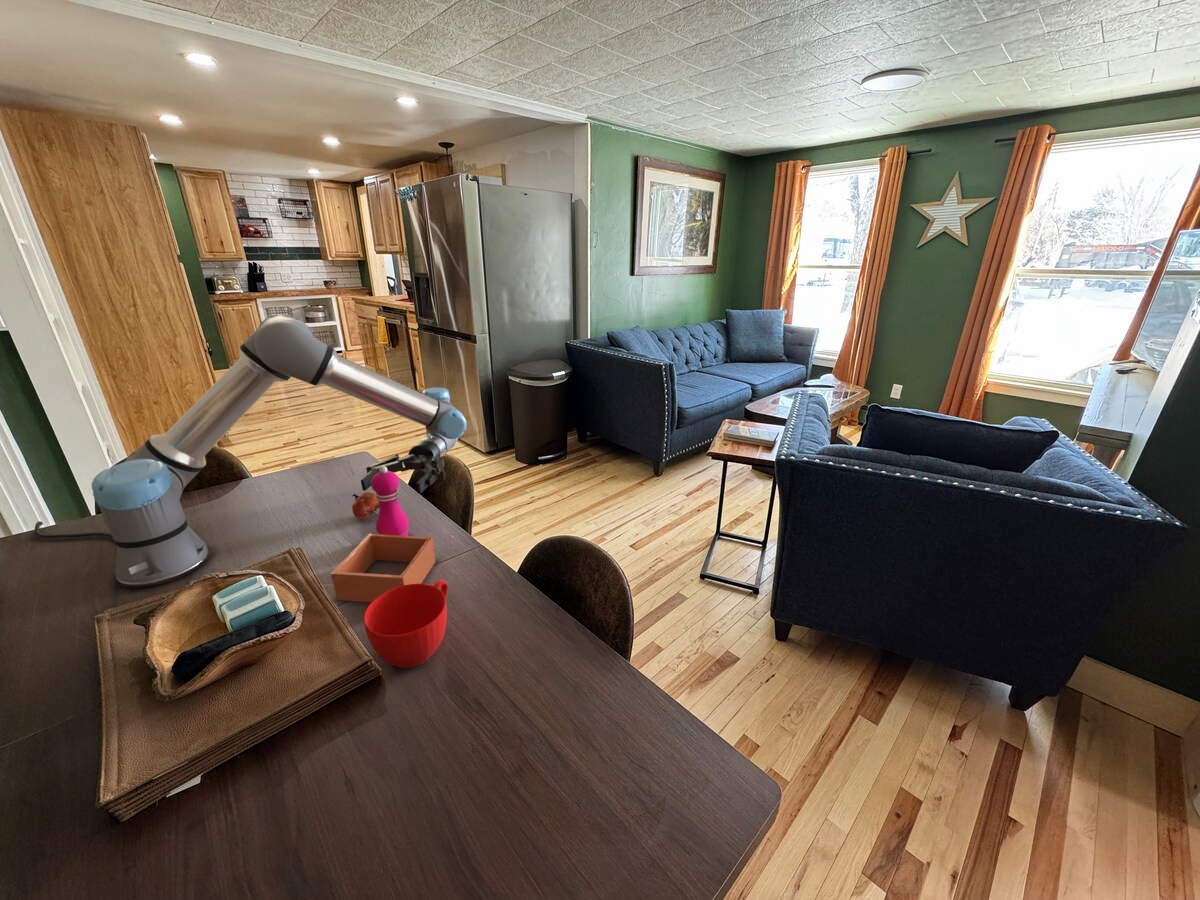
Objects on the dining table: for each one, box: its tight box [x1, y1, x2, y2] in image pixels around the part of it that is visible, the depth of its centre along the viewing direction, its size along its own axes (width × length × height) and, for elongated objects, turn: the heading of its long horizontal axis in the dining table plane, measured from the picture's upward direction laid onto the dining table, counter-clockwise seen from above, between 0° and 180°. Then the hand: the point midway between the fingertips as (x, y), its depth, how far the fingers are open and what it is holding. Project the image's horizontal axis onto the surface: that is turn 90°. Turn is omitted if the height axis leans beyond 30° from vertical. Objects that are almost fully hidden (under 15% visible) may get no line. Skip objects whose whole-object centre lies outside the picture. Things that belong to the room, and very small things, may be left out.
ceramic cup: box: [363, 580, 449, 669], centre depth 83 cm, size 13×17×10 cm
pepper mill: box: [370, 466, 410, 536], centre depth 112 cm, size 7×7×20 cm
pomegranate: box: [351, 491, 380, 521], centre depth 124 cm, size 7×7×10 cm
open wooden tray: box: [330, 533, 436, 603], centre depth 101 cm, size 15×15×6 cm
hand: (390, 487), depth 112 cm, fingers open, 13 cm apart
